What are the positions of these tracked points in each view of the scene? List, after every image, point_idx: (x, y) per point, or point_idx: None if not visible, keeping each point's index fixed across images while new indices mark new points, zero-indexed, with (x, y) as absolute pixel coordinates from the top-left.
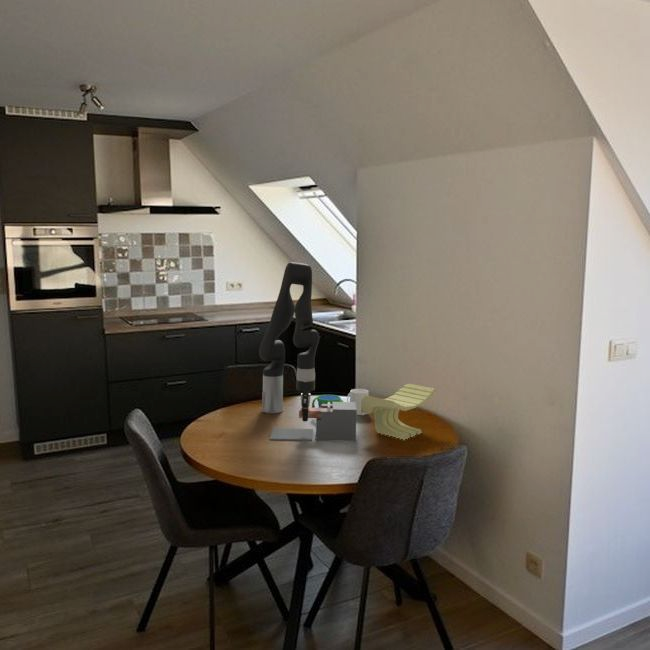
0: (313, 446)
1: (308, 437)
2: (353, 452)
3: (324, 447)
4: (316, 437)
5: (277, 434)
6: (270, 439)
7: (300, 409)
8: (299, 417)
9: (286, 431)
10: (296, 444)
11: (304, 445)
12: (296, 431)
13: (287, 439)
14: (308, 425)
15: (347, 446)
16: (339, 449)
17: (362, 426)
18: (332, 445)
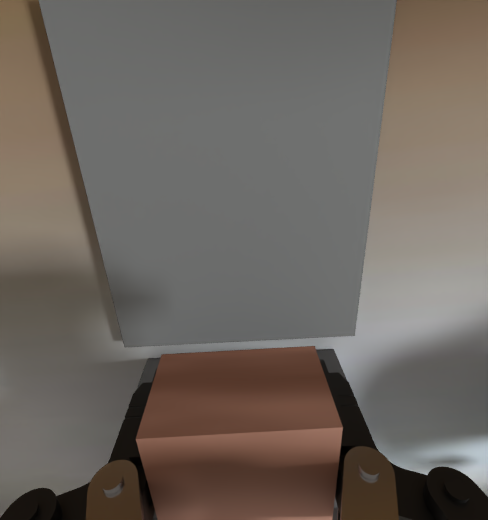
0: (22, 355)
1: (159, 324)
2: (8, 503)
3: (28, 404)
4: (143, 374)
5: (188, 71)
6: (45, 10)
7: (222, 448)
8: (159, 364)
9: (289, 150)
10: (19, 256)
11: (19, 306)
12: (292, 234)
13: (86, 182)
14: (471, 294)
15: (85, 483)
16: (26, 460)
17: None
18: (77, 433)
